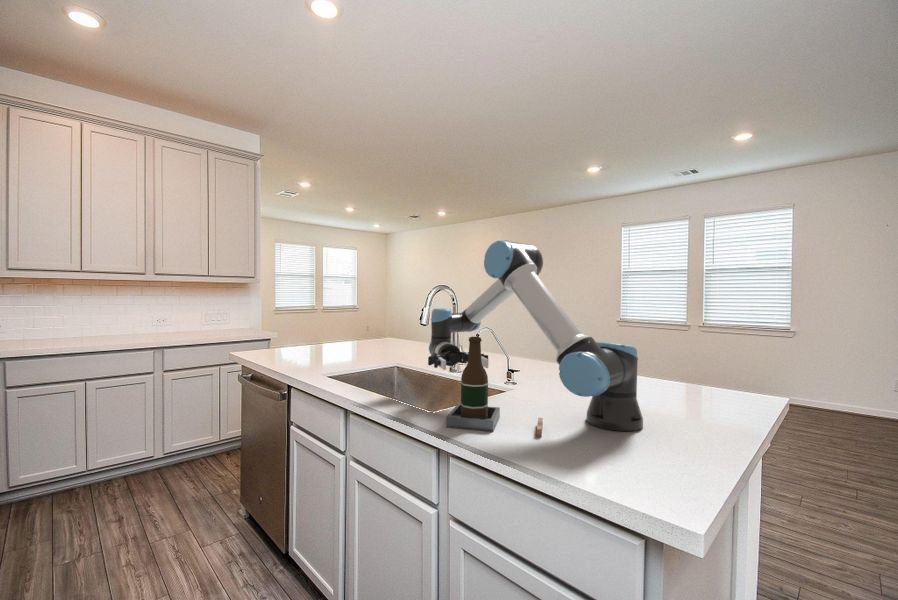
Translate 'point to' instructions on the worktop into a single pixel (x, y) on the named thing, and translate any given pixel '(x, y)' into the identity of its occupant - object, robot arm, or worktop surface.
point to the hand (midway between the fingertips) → (466, 364)
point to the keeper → (473, 420)
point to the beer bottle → (474, 384)
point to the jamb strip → (539, 427)
